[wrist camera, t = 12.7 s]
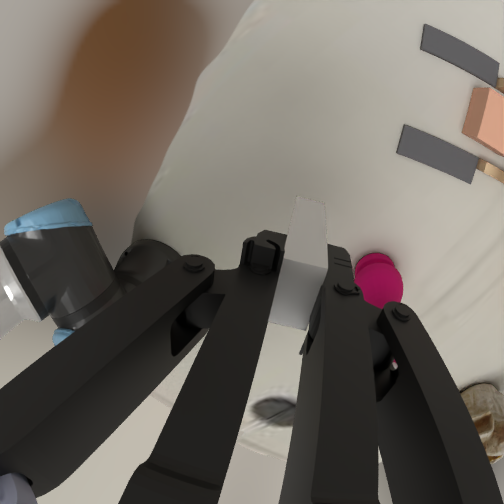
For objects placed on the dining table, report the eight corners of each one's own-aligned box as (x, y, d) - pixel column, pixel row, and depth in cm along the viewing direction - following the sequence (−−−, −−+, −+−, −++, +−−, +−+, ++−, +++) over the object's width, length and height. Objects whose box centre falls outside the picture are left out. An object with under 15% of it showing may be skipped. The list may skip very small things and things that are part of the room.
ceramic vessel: (428, 463, 54) (424, 515, 33) (419, 392, 62) (419, 431, 40) (500, 439, 44) (519, 483, 23) (495, 364, 51) (525, 391, 30)
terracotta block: (461, 132, 29) (477, 137, 25) (472, 87, 26) (489, 87, 21) (497, 154, 29) (514, 161, 24) (508, 111, 25) (527, 115, 21)
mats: (396, 152, 33) (397, 153, 33) (423, 24, 24) (425, 23, 23) (468, 183, 32) (470, 184, 31) (497, 63, 22) (499, 63, 22)
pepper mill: (341, 270, 43) (341, 376, 26) (378, 240, 40) (403, 340, 23) (371, 298, 44) (380, 404, 27) (406, 271, 41) (436, 374, 24)
